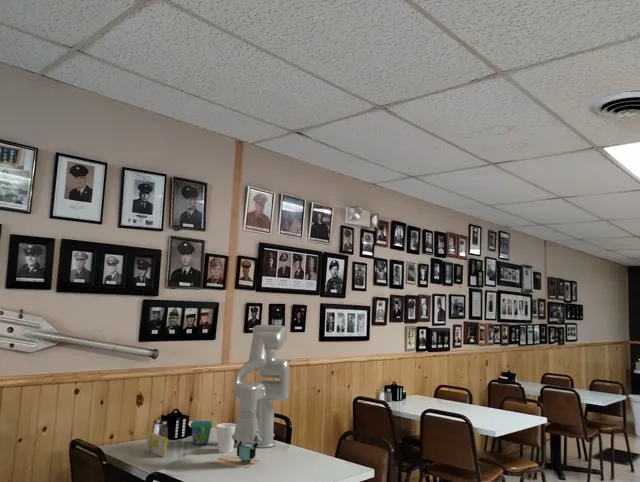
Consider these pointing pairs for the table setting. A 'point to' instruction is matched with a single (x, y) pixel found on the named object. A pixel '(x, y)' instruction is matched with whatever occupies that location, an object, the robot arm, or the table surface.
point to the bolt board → (234, 462)
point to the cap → (244, 452)
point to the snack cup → (201, 432)
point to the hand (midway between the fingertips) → (246, 456)
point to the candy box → (157, 444)
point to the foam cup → (225, 437)
